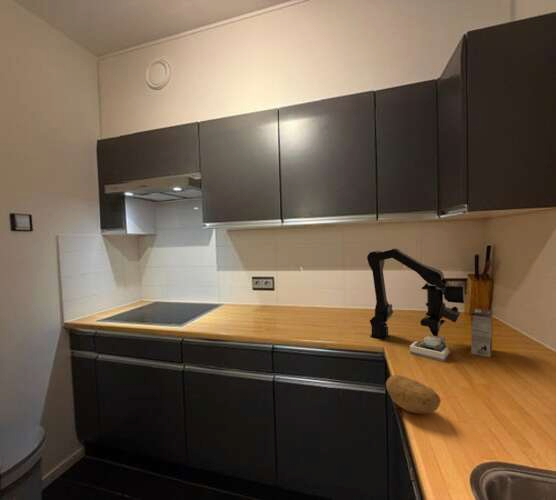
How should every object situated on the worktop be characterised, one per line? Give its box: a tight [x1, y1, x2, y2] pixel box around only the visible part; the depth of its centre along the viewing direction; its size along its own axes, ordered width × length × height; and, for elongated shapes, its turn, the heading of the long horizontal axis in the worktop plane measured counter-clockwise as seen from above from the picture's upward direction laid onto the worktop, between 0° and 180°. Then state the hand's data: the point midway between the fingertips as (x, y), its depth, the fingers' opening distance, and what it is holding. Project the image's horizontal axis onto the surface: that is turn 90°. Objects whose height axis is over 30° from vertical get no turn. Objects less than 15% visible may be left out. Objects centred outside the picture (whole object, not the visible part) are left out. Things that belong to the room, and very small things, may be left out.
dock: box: [409, 340, 452, 363], centre depth 115 cm, size 12×11×3 cm
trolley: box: [419, 333, 447, 352], centre depth 116 cm, size 8×8×5 cm
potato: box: [385, 374, 442, 415], centre depth 79 cm, size 10×14×8 cm
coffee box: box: [470, 307, 493, 358], centre depth 114 cm, size 9×6×16 cm
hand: (435, 337), depth 120 cm, fingers closed
